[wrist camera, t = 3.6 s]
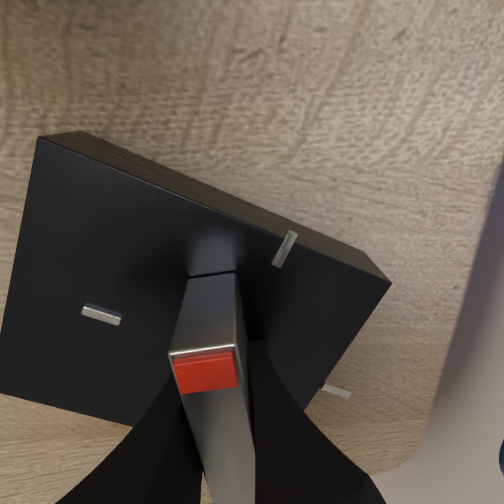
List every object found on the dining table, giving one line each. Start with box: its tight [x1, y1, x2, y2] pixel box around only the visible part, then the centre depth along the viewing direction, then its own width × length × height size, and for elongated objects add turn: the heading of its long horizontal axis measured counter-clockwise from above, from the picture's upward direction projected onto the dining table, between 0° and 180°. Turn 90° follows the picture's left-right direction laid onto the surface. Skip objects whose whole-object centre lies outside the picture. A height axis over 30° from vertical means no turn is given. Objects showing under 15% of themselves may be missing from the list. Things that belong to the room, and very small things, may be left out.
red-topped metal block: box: [168, 273, 255, 504], centre depth 11 cm, size 8×2×4 cm, turn 8°
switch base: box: [0, 131, 392, 427], centre depth 14 cm, size 14×12×3 cm
